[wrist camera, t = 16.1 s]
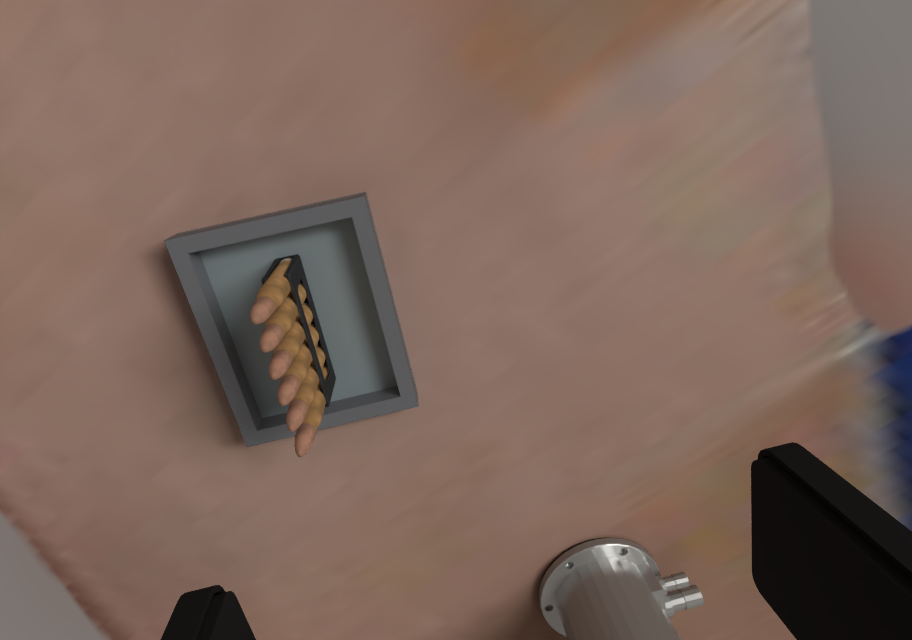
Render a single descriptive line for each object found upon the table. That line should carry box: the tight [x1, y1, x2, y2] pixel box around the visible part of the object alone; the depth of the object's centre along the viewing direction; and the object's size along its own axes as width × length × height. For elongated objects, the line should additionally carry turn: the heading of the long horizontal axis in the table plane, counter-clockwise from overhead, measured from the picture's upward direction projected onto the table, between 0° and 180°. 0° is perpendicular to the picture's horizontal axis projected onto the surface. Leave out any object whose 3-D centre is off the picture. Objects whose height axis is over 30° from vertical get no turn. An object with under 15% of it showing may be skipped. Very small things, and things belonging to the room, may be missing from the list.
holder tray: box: [164, 192, 419, 447], centre depth 42 cm, size 14×17×3 cm
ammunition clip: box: [250, 254, 336, 457], centre depth 37 cm, size 11×2×12 cm, turn 11°
